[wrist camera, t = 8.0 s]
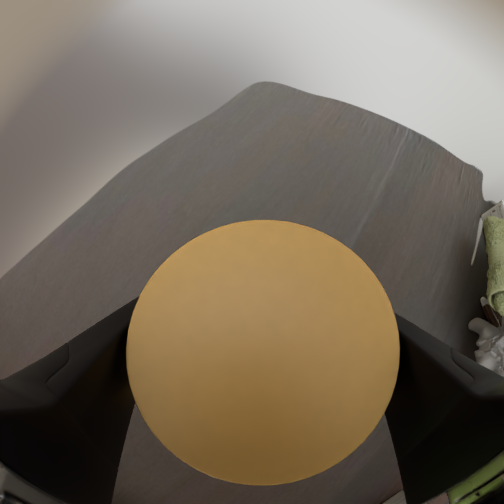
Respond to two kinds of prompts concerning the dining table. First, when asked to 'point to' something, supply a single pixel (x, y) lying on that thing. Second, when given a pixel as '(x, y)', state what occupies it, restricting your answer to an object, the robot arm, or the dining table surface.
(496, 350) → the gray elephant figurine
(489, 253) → the washcloth
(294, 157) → the dining table surface
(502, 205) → the small box
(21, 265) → the dining table surface
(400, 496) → the cosmetic box
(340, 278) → the cup-cap
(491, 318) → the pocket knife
